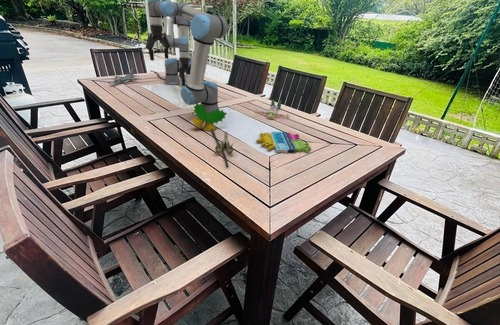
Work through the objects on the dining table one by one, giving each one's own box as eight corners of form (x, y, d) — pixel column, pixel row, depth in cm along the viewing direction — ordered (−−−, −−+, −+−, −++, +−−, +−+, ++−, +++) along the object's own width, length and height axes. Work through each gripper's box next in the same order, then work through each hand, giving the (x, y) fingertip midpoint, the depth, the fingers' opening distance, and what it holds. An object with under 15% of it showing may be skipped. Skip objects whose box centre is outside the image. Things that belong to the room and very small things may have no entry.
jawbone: (234, 135, 144) (233, 125, 135) (233, 160, 138) (232, 151, 129) (217, 135, 144) (216, 125, 135) (216, 160, 138) (214, 150, 129)
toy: (294, 101, 206) (290, 112, 180) (293, 110, 209) (289, 122, 183) (259, 97, 210) (251, 107, 185) (259, 106, 214) (250, 116, 188)
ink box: (191, 88, 231) (191, 74, 226) (187, 89, 228) (187, 75, 222) (184, 86, 235) (183, 73, 229) (180, 87, 231) (179, 74, 225)
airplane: (106, 78, 261) (104, 68, 256) (139, 76, 275) (138, 66, 269) (108, 88, 233) (105, 77, 228) (145, 86, 246) (143, 75, 241)
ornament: (218, 133, 171) (224, 110, 169) (221, 134, 163) (227, 111, 161) (186, 125, 162) (192, 101, 160) (189, 126, 155) (195, 101, 153)
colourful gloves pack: (313, 150, 142) (258, 149, 139) (312, 153, 143) (258, 152, 140) (301, 132, 164) (254, 130, 161) (301, 134, 165) (254, 133, 162)
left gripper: (180, 58, 210) (182, 87, 221) (194, 56, 224) (195, 84, 235) (173, 57, 213) (175, 86, 224) (188, 55, 227) (189, 83, 238)
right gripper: (165, 24, 182) (168, 57, 192) (136, 24, 162) (141, 60, 172) (173, 25, 179) (176, 58, 189) (145, 25, 159) (149, 61, 169)
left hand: (185, 85), depth 230 cm, fingers closed on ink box, 5 cm apart
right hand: (159, 59), depth 181 cm, fingers open, 13 cm apart
